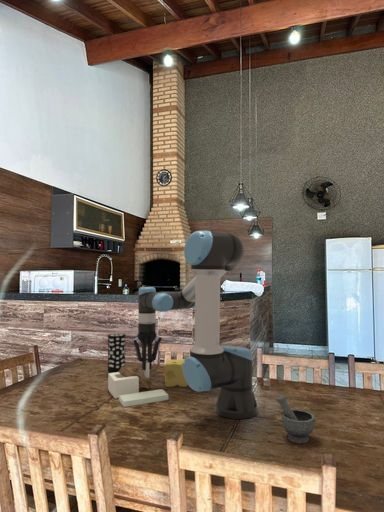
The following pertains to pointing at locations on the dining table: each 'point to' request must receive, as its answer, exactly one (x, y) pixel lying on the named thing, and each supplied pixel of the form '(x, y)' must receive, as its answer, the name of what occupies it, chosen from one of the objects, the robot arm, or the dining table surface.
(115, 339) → the spotted tube
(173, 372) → the cheese
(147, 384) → the tile
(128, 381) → the white box holder
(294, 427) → the mortar and pestle
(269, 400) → the dining table surface
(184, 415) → the dining table surface
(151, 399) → the white flat bar
